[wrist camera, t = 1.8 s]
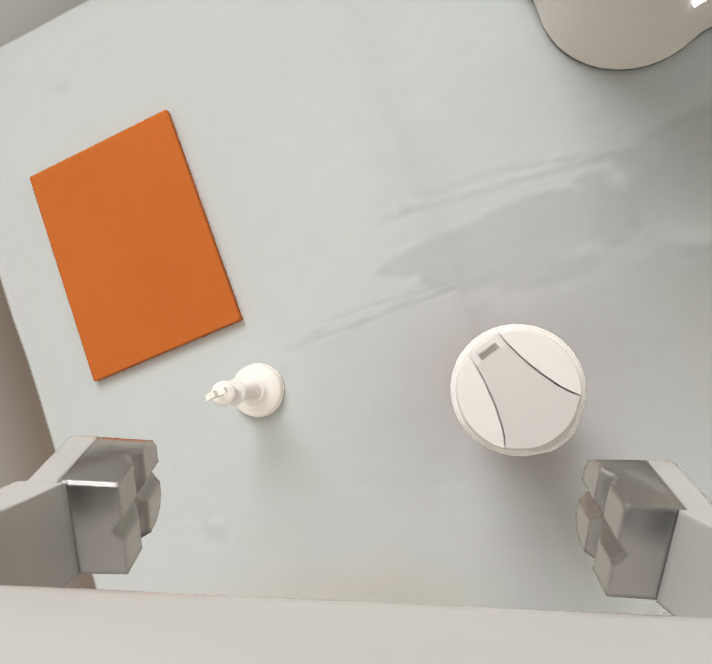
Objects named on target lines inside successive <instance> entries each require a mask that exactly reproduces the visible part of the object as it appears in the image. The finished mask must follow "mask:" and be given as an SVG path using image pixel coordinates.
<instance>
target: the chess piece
mask: <svg viewBox="0 0 712 664" xmlns="http://www.w3.org/2000/svg"><path fill="white" fill-rule="evenodd" d="M283 396H284V384H283V381H282V378H281V376H280V375H279V373H278V372H277V371H276V370H275V369H274V368H272V367H271V366H269V365H266V364H262V363H255V364H251V365H248V366H246V367H244V368H243V369H241V370H240V371H239V372H238V373H237V375H236V376H235V378H234V380H230V381H229V382H227V381H220V382H217V383H216V384H215V385H214V386H213V387H212V390H211V392H209V393H208V395H205V398H206V401H210V400H213V402H214V403H215V404H216V405H218V406H228V405H234V406H236V407H237V408H238V409H239V410H240V411H241V412H243V413H244V414H246V415H248V416H252V417H264V416H267V415H270V414H271V413H273V412H274V411H275V410H276V409H277V408H278V407H279V406H280V404H281V402H282V399H283Z"/></svg>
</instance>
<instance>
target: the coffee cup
mask: <svg viewBox="0 0 712 664" xmlns="http://www.w3.org/2000/svg"><path fill="white" fill-rule="evenodd" d="M450 392H451V401H452V405H453V409H454V411H455V414H456V416H457V418H458V420H459V422H460V423H461V425H462V427H463V428H464V429H465V430H466V432H467V433H468V434H469V435H470V436H471V437H472V438H473V439H474V440H476V441H477V442H478V443H480V444H481V445H483V446H484V447H486V448H488V449H490V450H492V451H495V452H497V453H501V454H505V455H510V456H530V455H535V454H540V453H547V452H551V451H553V450H555V449H557V448H558V447H560V446H561V445H563V444H564V443H565V442H566V441H568V440H569V439H570V437H571V436H572V435H573V434H574V433H575V432H576V429H577V426H578V424H579V421H580V419H581V416H582V414H583V411H584V407H585V403H586V392H587V389H586V380H585V376H584V372H583V369H582V367H581V364H580V362H579V360H578V358H577V357H576V355H575V354H574V352H573V351H572V350H571V349H570V348H569V347H568V345H567V344H566V343H565V342H563V341H562V340H561V339H560V338H558V337H557V336H556V335H554V334H552V333H550V332H549V331H547V330H544V329H542V328H539V327H536V326H531V325H527V324H508V325H502V326H498V327H495V328H492V329H490V330H487V331H485V332H484V333H482V334H480V335H479V336H477V337H476V338H475V339H473V340H472V341H471V342H470V343H469V344H468V345H467V346H466V347H465V349H464V350H463V351H462V353H461V354H460V356H459V357H458V359H457V361H456V364H455V366H454V369H453V372H452V377H451V385H450Z"/></svg>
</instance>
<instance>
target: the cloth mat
mask: <svg viewBox="0 0 712 664" xmlns="http://www.w3.org/2000/svg"><path fill="white" fill-rule="evenodd" d="M30 180H31V183H32V186H33V190H34V193H35V196H36V199H37V202H38V205H39V209H40V212H41V215H42V218H43V221H44V224H45V228H46V231H47V234H48V237H49V240H50V243H51V247H52V250H53V253H54V256H55V259H56V262H57V266H58V269H59V272H60V275H61V278H62V281H63V284H64V288H65V291H66V294H67V297H68V300H69V303H70V307H71V310H72V313H73V316H74V319H75V322H76V326H77V329H78V332H79V335H80V338H81V341H82V345H83V348H84V351H85V354H86V357H87V360H88V363H89V367H90V370H91V373H92V376H93V379H94V381H99V380H101V379H104V378H106V377H108V376H111V375H113V374H116V373H118V372H120V371H123V370H125V369H127V368H130V367H132V366H135V365H137V364H139V363H142V362H144V361H146V360H149V359H151V358H153V357H156V356H158V355H161V354H163V353H165V352H168V351H170V350H172V349H175V348H177V347H179V346H182V345H184V344H187V343H189V342H191V341H194V340H196V339H198V338H201V337H203V336H206V335H208V334H210V333H213V332H215V331H217V330H220V329H222V328H224V327H227V326H229V325H232V324H234V323H236V322H239V321H241V320H243V319H242V316H241V313H240V311H239V308H238V305H237V302H236V299H235V297H234V294H233V291H232V288H231V285H230V282H229V280H228V277H227V274H226V271H225V268H224V266H223V263H222V260H221V257H220V254H219V252H218V249H217V246H216V243H215V240H214V237H213V235H212V232H211V229H210V226H209V223H208V221H207V218H206V215H205V212H204V209H203V207H202V204H201V201H200V198H199V195H198V192H197V190H196V187H195V184H194V181H193V178H192V176H191V173H190V170H189V167H188V164H187V161H186V159H185V156H184V153H183V150H182V147H181V145H180V142H179V139H178V136H177V133H176V131H175V128H174V125H173V122H172V119H171V116H170V114H169V112H168V111H167V110H164V111H162V112H160V113H158V114H156V115H154V116H152V117H150V118H148V119H146V120H144V121H142V122H140V123H138V124H136V125H134V126H132V127H130V128H128V129H126V130H124V131H122V132H120V133H118V134H116V135H114V136H112V137H110V138H108V139H106V140H104V141H102V142H100V143H98V144H96V145H94V146H92V147H90V148H88V149H86V150H84V151H82V152H80V153H78V154H76V155H74V156H72V157H70V158H68V159H66V160H64V161H62V162H60V163H58V164H56V165H54V166H52V167H50V168H48V169H46V170H44V171H42V172H40V173H38V174H36V175H34V176H32V177H30Z"/></svg>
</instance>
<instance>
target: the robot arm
mask: <svg viewBox="0 0 712 664" xmlns="http://www.w3.org/2000/svg"><path fill="white" fill-rule="evenodd" d="M533 2H534V4H535V6H536V8H537V11H538V14H539V17H540V19H541V22H542V24H543V27H544V28H545V30H546V32H547V33H548V35H549V37H550V38H551V39H552V40H553V42H554V43H555V44H556V45H557V46H558V47H559V48H560V49H561V50H563V51H564V52H565V53H567V54H568V55H569V56H571V57H573V58H574V59H576V60H578V61H580V62H583V63H585V64H588V65H591V66H594V67H599V68H604V69H614V70H622V69H634V68H639V67H644V66H648V65H651V64H654V63H656V62H659V61H661V60H663V59H665V58H668V57H669V56H671V55H673V54H675V53H676V52H678V51H679V50H681V49H682V48H683V47H685V46H686V45H687V44H688V43H689V42H690V41H692V40H693V39H694V38H695V37H696V36H697V35H699V34H700V33H701V32H703V31H704V30H706V29H707V28H710V27H712V0H533ZM157 463H158V455H157V447H156V445H155V443H154V442H153V440H138V439H121V438H105V437H102V438H100V437H91V436H74V437H70V438H69V439H68V440H67V441H66V442H65V443H64V444H63V445H62V446H61V447H60V448H59V449H58V450H57V451H56V452H55V453H54V454H53V455H52V456H51V457H50V458H49V459H48V460H47V461H46V462H45V463H44V464H43V465H42V466H41V468H39V469H38V471H37V472H36V473H35V474H34V475H33V476H32V477H31V478H30V479H29V480H28V481H17V482H15V483H12V484H10V485H7V486H5V487H3V488H0V664H712V503H711V502H710V501H709V500H708V499H707V498H706V496H705V495H704V494H703V493H702V492H701V491H700V490H699V489H698V487H697V486H696V485H695V484H694V483H693V482H692V481H691V480H690V479H689V477H688V476H687V475H686V474H685V473H684V472H683V471H682V470H681V468H680V467H679V466H678V465H677V464H676V463H674V462H671V461H646V460H588V461H587V464H586V466H585V468H584V473H583V478H582V480H583V482H584V484H585V486H586V487H587V489H588V491H587V492H586V493H585V494H584V495H583V496H582V497H581V498H580V499H579V500H578V506H577V513H576V523H577V533H578V537H579V541H580V543H581V545H582V547H583V550H584V551H585V552H586V553H587V554H589V555H590V556H592V557H593V558H595V560H594V565H593V570H594V572H595V574H596V576H597V578H598V580H599V582H600V584H601V586H602V588H603V590H604V592H605V594H606V596H611V597H624V598H638V599H652V600H657V601H656V602H657V603H658V604H659V605H661V606H662V607H663V608H664V609H665V610H667V611H668V612H669V613H670V614H671V615H672V616H663V615H641V614H619V613H598V612H576V611H554V610H532V609H510V608H489V607H467V606H445V605H423V604H402V603H380V602H358V601H337V600H315V599H293V598H272V597H250V596H228V595H206V594H185V593H163V592H141V591H120V590H98V589H75V588H63V587H64V586H66V585H67V584H68V583H70V582H71V581H73V580H74V579H75V578H77V577H78V576H79V573H86V574H128V573H129V571H130V569H131V568H132V566H133V564H134V562H135V560H136V559H137V557H138V555H139V553H140V551H141V549H142V542H141V538H142V537H143V536H145V535H147V534H148V533H150V532H151V531H152V529H153V527H154V525H155V523H156V521H157V517H158V513H159V509H160V501H161V488H160V481H159V480H158V479H157V478H156V477H155V475H154V474H153V473H152V471H153V469H154V468H155V466H156V464H157Z"/></svg>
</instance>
